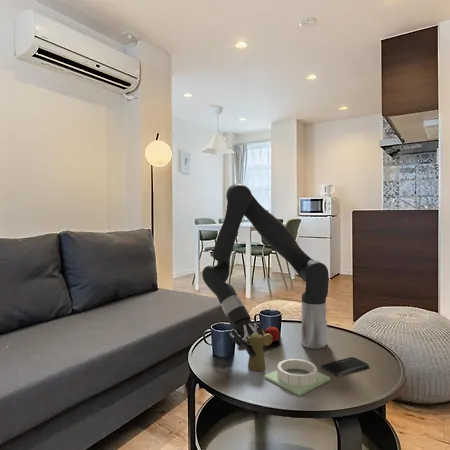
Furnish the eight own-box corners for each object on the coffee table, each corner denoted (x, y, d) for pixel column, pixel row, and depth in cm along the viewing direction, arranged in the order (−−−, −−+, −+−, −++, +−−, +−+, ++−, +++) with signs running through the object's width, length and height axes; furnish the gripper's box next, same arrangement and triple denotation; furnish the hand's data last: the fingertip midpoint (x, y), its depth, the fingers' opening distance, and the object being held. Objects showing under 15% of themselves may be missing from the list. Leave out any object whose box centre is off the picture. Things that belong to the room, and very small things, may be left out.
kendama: (246, 355, 133) (285, 340, 141) (242, 338, 134) (281, 324, 142) (237, 351, 140) (274, 337, 148) (234, 335, 141) (271, 322, 148)
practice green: (295, 364, 122) (295, 353, 121) (330, 379, 111) (330, 367, 111) (264, 378, 112) (264, 366, 112) (299, 395, 101) (299, 382, 101)
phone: (370, 365, 119) (336, 374, 113) (370, 368, 119) (336, 377, 113) (352, 356, 126) (319, 364, 120) (352, 359, 126) (319, 368, 120)
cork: (267, 370, 117) (267, 338, 117) (249, 371, 117) (249, 338, 116) (263, 362, 123) (263, 331, 123) (246, 363, 123) (246, 332, 122)
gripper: (224, 309, 121) (248, 355, 112) (254, 301, 130) (279, 344, 121) (215, 320, 125) (237, 365, 117) (244, 312, 134) (268, 354, 126)
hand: (258, 354), depth 119 cm, fingers closed on cork, 4 cm apart
